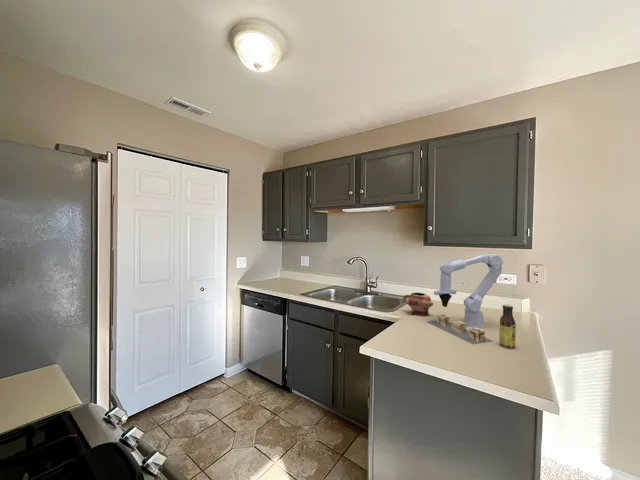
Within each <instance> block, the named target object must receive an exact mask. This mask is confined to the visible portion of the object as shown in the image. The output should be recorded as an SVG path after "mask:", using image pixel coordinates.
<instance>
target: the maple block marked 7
mask: <svg viewBox="0 0 640 480" xmlns="http://www.w3.org/2000/svg"><path fill="white" fill-rule="evenodd" d="M468 330H469V339H471V340H473V341H476V342H482V341H485V338H486V330H484V329H481V328H480V327H474V328H471V327H469V328H468Z"/></svg>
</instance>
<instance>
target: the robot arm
mask: <svg viewBox="0 0 640 480" xmlns="http://www.w3.org/2000/svg"><path fill="white" fill-rule="evenodd" d="M479 263H484V264H486V266H487V268H488V269H489V271H488V272H487V274H486V275H485V277H484V278H483V279H482V280H481V282H480V283H479V285H478V286H477V287H476V289H475V290H474V292H473V293H471V294H470V295H469V296H467V297H465V299H464V300H463V305H464V323H466V327H469V328H481V327H484V314H483V311H481V305H482V304H483V299H484V297H485V296H486V295H487V293H488V292H489V290H490V289H491V288H492V287H493V285H494V283H496V281H497V280H498V279H499V277H500V276H501V274H502V270H503V264H504V261H503V258H502V257H501V255H499V254H496V253H495V254H494V253H491V252H490V253H485V254H484V253H483V254H480V255H476V256H473V257H470V258H467V259H464V260H463V259H459V258H456V260H453V261H448V262H447V263H442V264H440V266H439V270H440V280H439V283H440V284H439V290H435V291H433V295H435V296H439V298H440V301H441V305H442V307H444V308H447V306H448V305H449V301H450V300H451V298H452V297H453V296H452V295H457V290H453V289H452V288H451V287H452V273H453V272H457V271H460V270H464V269H465V268H466V267H467V266H471V265H474V264H475V265H476V264H479Z"/></svg>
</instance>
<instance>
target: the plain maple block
mask: <svg viewBox="0 0 640 480" xmlns="http://www.w3.org/2000/svg"><path fill="white" fill-rule="evenodd" d="M451 323H452V331H454V332H456V333H458V334H460V333H466V329H467V326H466V323H465V321H464V322H463V321H462V320H453V321H451Z"/></svg>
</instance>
